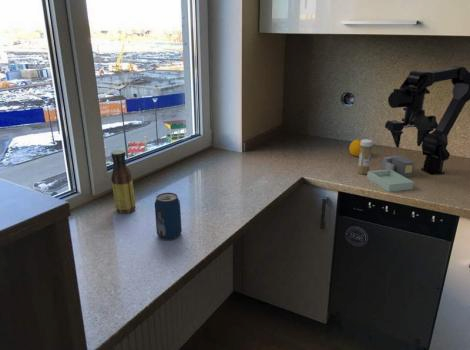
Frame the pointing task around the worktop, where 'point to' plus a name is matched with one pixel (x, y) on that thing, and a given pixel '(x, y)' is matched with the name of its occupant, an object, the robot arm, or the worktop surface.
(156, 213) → the soda can
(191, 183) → the worktop surface
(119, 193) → the sauce bottle
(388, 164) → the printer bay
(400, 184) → the tray
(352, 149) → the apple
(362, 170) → the sprinkles bottle
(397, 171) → the grey block
